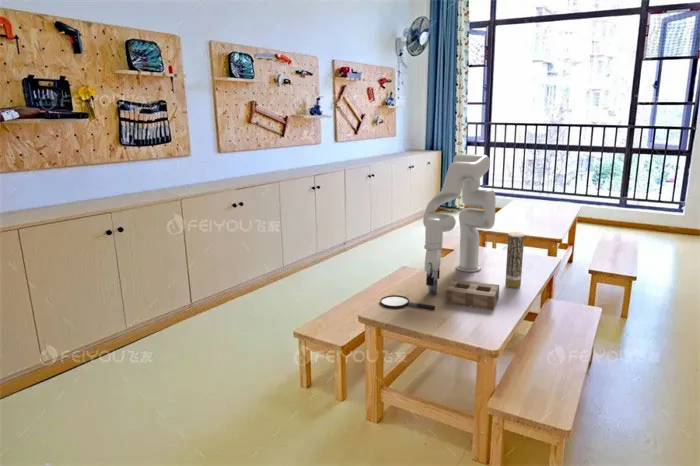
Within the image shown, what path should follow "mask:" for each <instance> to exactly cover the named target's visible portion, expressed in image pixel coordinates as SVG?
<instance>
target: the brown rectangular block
mask: <svg viewBox="0 0 700 466" xmlns="http://www.w3.org/2000/svg"><path fill="white" fill-rule="evenodd" d="M499 294H500V285H499V284H494V283H488V282H487V283H485V282H478V281H470V280H463V279H461V280H460V279H456V278H455V279H452V280H451V282H450V284H449V285H448V286H447V287H446V289H445V304H448V305H449V304H450V305H457V306H462V305H465V306H464V307H469V306H472V307H471V308H476V307H479V308H478V309H483V308H484V310H491V311H494V310H495V307H496V306H497V302H498V300H499V297H500V295H499Z"/></svg>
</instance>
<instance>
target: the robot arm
mask: <svg viewBox="0 0 700 466" xmlns="http://www.w3.org/2000/svg"><path fill="white" fill-rule="evenodd" d="M490 166H491V159H490V157H489V156H488V155H486V154H474V153H459V154H455V156H454V157H453V161H452V163H450V164H449V166H448V169H447V171H446V175H445V179H444V181H443V184H442V188H441V190H440V192H438V193H437V194H436V195H435V196H433V198H431V200H430V201H429V202H428V204H427V205H426V207H425V212H424V215H423V219H422V224H423V227H425V232H424V233H425V234H424V236H425V237H424V238H425V240H424V241H425V242H424V250H426V251H425V257H424V259H425V260H424V271H425V272H426V275H425V276H426V286H433V285H434V277H433V275H434V272H436V271H437V269H438V280H439V279H440V266H441V259H442V258H441V253H442V252H441V250H443V242H444V240H443V239H444V238H443V237H444V233H447V232H450V231H453V229H455V226H456V223H457V222H456V218H455V216H453V215H451V214H447V213H440V212H436V210H437V209H438V208H439V207H441V206H442V205H443V204H445V203H448V202H451V201H453V200H456V199H459V197H460V196H461V195H462V196H461V198H462V203H463V204H464V205H465V206H467V207H465V208H463V209H461V210H460V211H459V214H458V220H459V221H458V223H459V229H460V231H459V232H460V234H459V235H460V237H459V263H457V264H456V265H455V267H456V270H458V271H462V272H466V273H474V272H480V271H481V270H482V266H481V265H480V264H479V256H480V255H479V254H480V253H479V252H480V233H479V231H478V229H484V230H491V229H492V228H494V225H495V222H496V221H495V220H496V193H495V191H494V190H493V189H492V188H488V187H481V178H482V177H483V176H484V175H485V174H487V172H488V171H489V169H490ZM468 206H469V207H468ZM473 207H474V208H473ZM475 207H476V208H475ZM477 207H478V208H477ZM430 272H432V274H431V273H430Z"/></svg>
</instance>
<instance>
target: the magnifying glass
mask: <svg viewBox="0 0 700 466" xmlns="http://www.w3.org/2000/svg"><path fill="white" fill-rule="evenodd" d="M379 301H380V302H379V304H380V305H381V307H384V308H387V309H392V310H398V309H399V310H401V309H405V308H407V307H411V308H412V307H413V308H417V309H423V310H428V311H435V310H436V305H433V304H427V303H426V304H425V303H420V302H418V303H417V302H411V301H410V299H409V298H408V297H406V296H403V295H397V294H396V295H395V294H392V295H386V296H384V297H382V298H381V299H380V300H379Z"/></svg>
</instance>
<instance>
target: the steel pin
mask: <svg viewBox="0 0 700 466" xmlns="http://www.w3.org/2000/svg"><path fill="white" fill-rule="evenodd" d="M430 273H431V274H432V272H430ZM433 277H434V285H433V286H428V285H427V286H428V288H427V289H428V290H427V291H428V293H427V294H428V295H431V296H435V295H438V283H439V282H438V281H439V279H438V269H437V271H436V272H434V275H433Z"/></svg>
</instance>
